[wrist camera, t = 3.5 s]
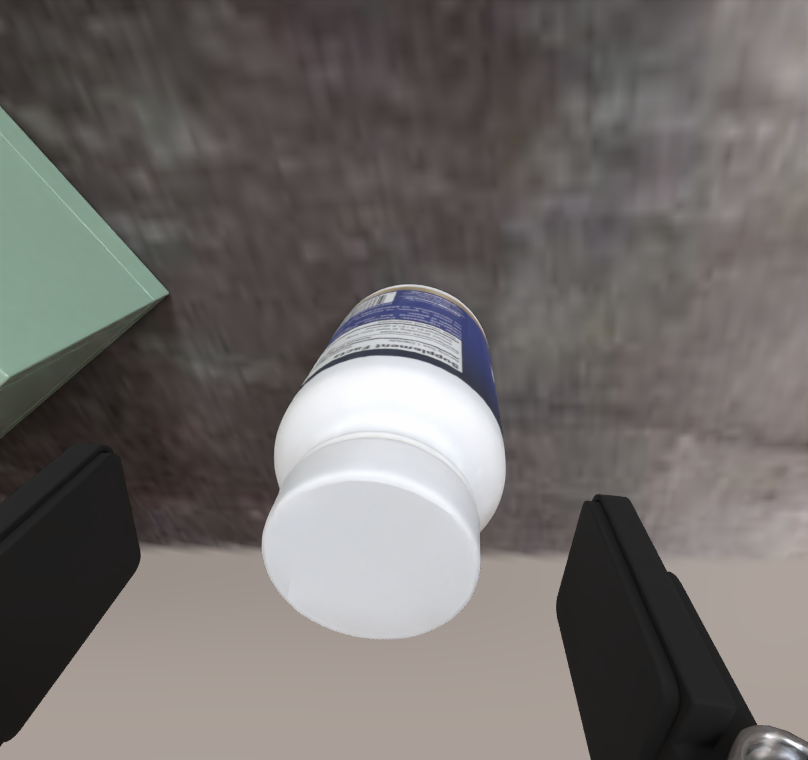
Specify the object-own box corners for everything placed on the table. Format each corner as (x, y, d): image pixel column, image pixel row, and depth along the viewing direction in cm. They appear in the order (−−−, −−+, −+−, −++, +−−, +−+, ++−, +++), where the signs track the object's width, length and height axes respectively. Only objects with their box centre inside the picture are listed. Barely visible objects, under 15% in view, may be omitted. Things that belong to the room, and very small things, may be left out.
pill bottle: (475, 431, 19) (489, 688, 10) (334, 410, 19) (227, 643, 10) (504, 291, 16) (556, 467, 8) (342, 269, 17) (211, 415, 8)
